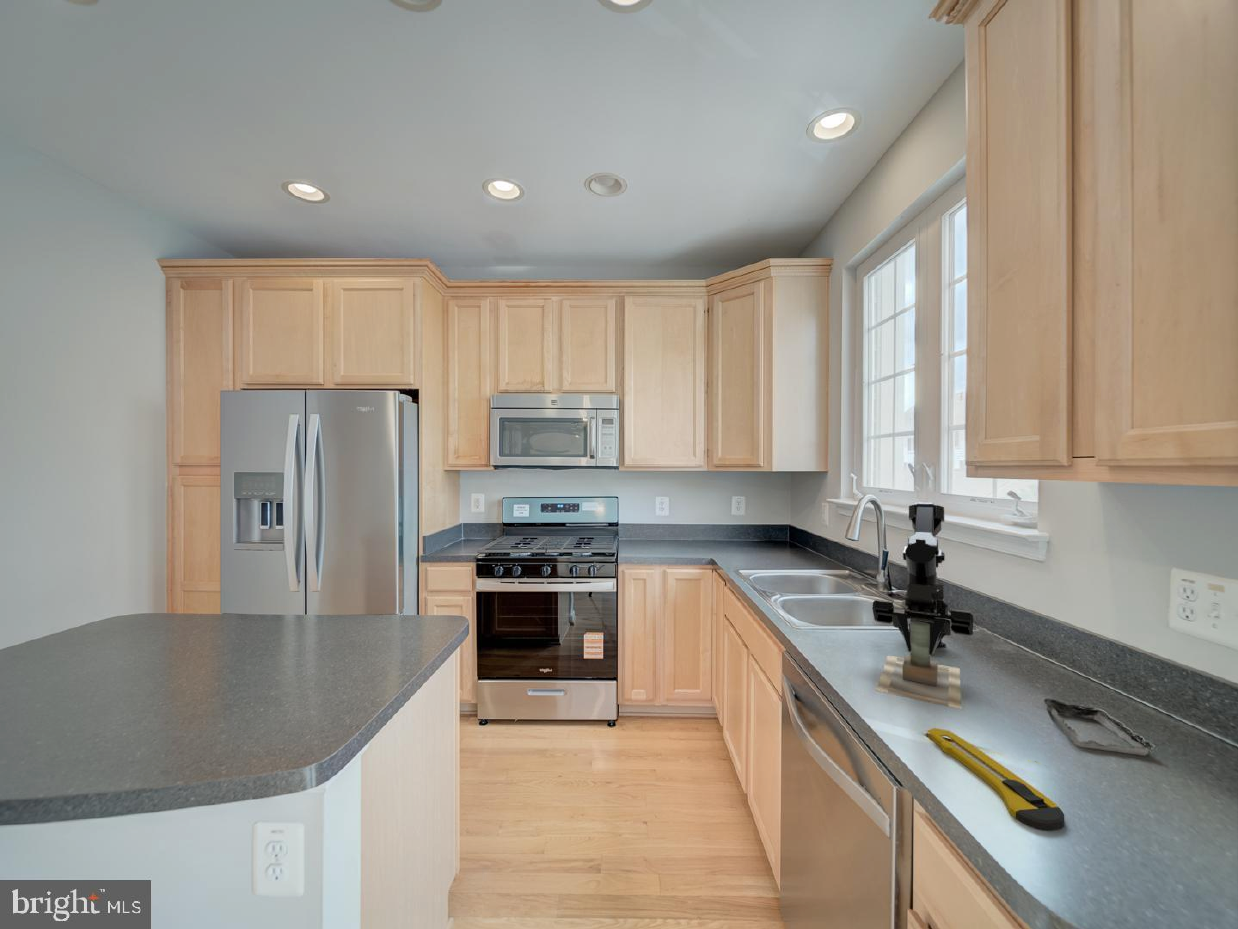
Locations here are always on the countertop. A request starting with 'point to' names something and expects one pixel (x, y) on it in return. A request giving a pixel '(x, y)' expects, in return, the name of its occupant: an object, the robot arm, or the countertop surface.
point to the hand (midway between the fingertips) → (919, 652)
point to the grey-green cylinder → (920, 656)
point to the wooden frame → (922, 684)
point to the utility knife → (1003, 783)
